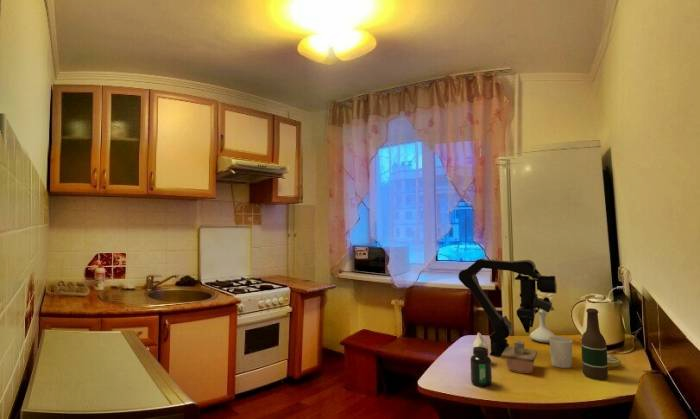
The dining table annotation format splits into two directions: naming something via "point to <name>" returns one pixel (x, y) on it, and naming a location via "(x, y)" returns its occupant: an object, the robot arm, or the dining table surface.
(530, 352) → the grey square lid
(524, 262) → the robot arm
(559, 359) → the white cup
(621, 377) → the dining table surface
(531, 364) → the terracotta bowl
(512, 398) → the dining table surface
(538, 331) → the flower in vase
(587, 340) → the beer bottle
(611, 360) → the decorated donut
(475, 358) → the supplement bottle
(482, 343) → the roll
